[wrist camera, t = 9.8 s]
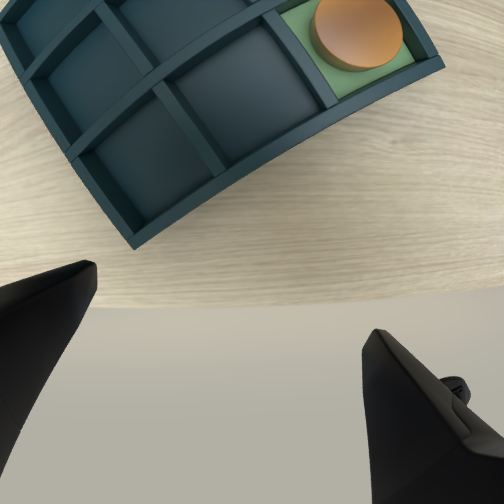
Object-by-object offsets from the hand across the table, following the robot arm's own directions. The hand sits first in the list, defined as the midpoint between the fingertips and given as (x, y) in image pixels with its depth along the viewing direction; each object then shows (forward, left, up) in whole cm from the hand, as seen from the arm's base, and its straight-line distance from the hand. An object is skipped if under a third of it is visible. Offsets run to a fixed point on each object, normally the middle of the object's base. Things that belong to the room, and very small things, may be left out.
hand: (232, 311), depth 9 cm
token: (+6, -10, -10) cm, 16 cm away
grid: (+13, -3, -11) cm, 17 cm away
